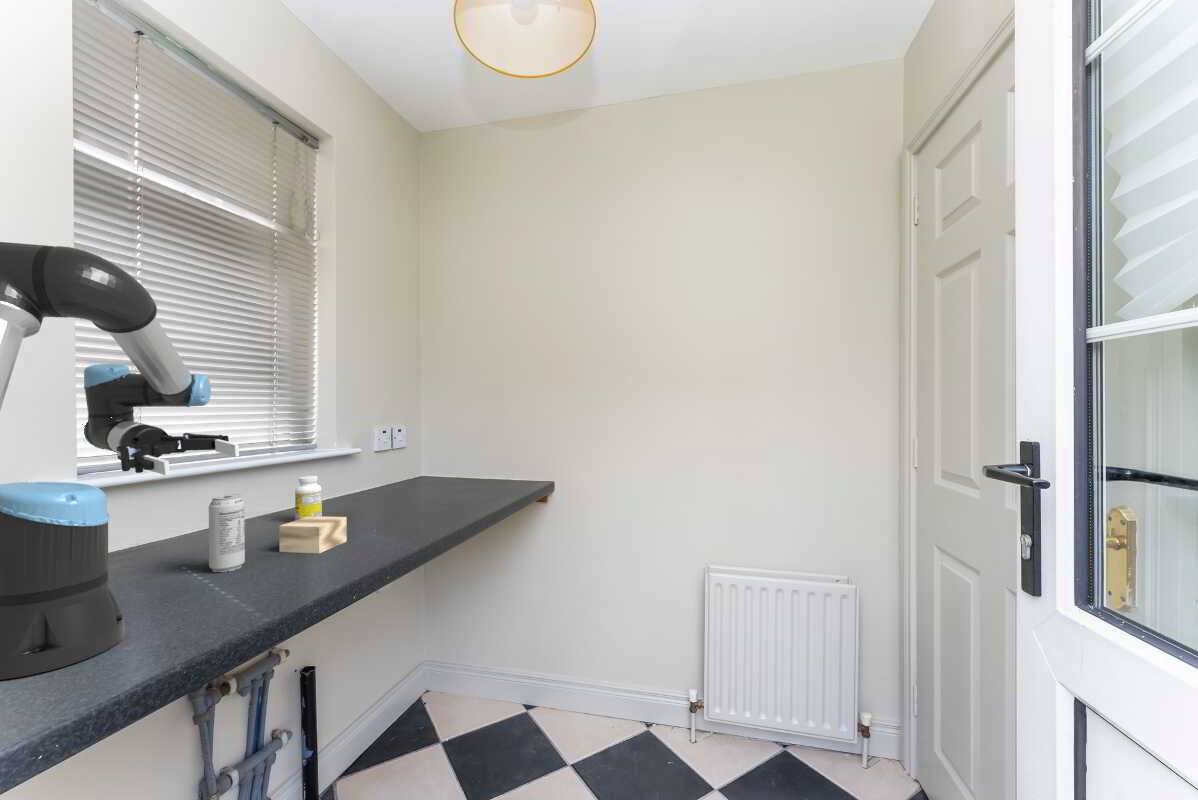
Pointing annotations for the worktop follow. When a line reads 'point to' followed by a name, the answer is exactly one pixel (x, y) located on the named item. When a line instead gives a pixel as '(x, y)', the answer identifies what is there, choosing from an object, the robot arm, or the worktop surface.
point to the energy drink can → (226, 533)
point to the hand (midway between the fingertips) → (204, 458)
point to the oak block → (312, 534)
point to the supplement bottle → (308, 498)
